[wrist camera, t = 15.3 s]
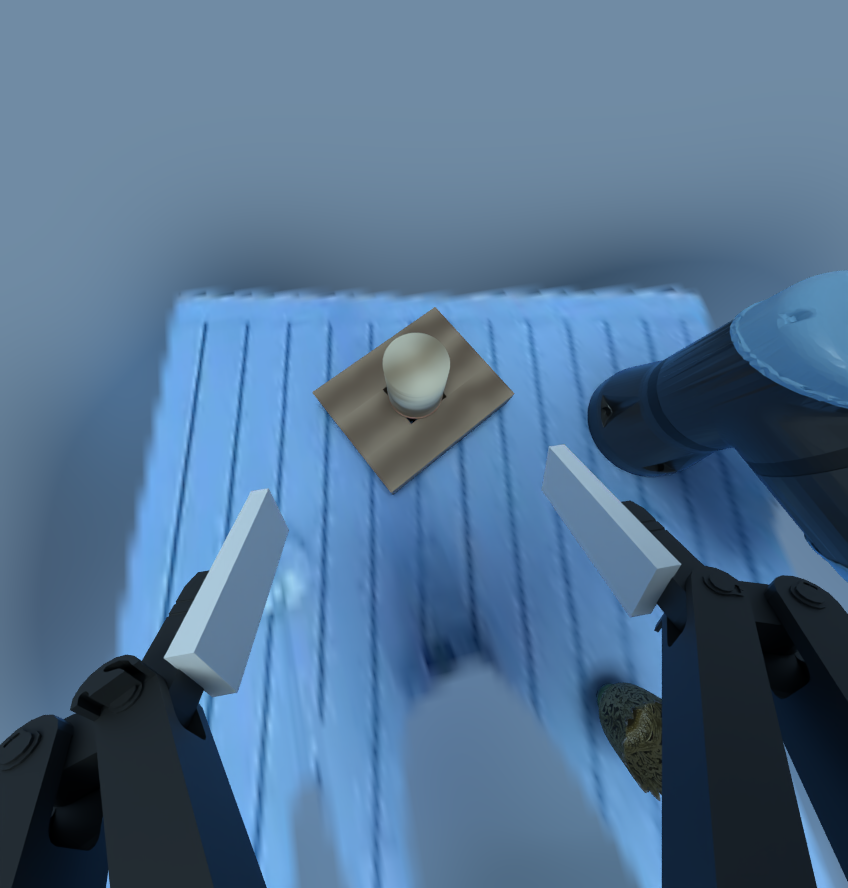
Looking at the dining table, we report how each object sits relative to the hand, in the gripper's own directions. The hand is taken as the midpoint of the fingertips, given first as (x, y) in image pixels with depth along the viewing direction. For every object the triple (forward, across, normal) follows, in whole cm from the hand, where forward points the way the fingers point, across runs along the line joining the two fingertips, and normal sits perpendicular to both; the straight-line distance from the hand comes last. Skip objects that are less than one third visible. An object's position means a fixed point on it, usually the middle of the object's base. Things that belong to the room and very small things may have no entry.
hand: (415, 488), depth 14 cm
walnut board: (+27, +2, -8) cm, 28 cm away
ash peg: (+27, +2, -8) cm, 28 cm away
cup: (0, +19, -36) cm, 40 cm away
